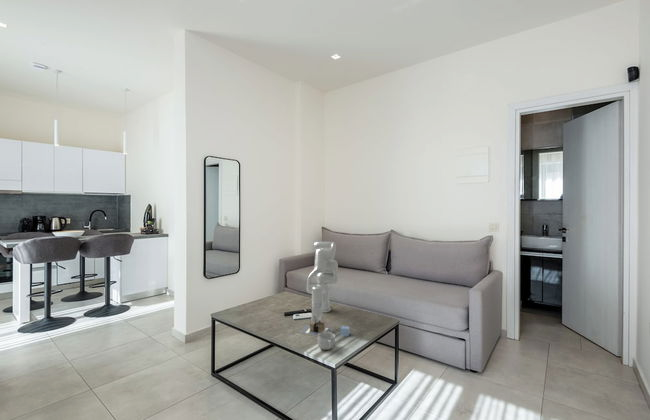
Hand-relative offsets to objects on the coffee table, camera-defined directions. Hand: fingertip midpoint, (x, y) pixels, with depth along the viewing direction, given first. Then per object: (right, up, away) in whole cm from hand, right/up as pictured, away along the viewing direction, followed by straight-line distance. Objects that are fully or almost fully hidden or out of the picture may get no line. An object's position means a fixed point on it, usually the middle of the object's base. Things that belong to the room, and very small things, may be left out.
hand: (317, 329), depth 216 cm
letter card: (0, -1, 0) cm, 1 cm away
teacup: (+7, -2, -26) cm, 27 cm away
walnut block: (0, 0, 0) cm, 0 cm away
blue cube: (+19, -1, -6) cm, 20 cm away
